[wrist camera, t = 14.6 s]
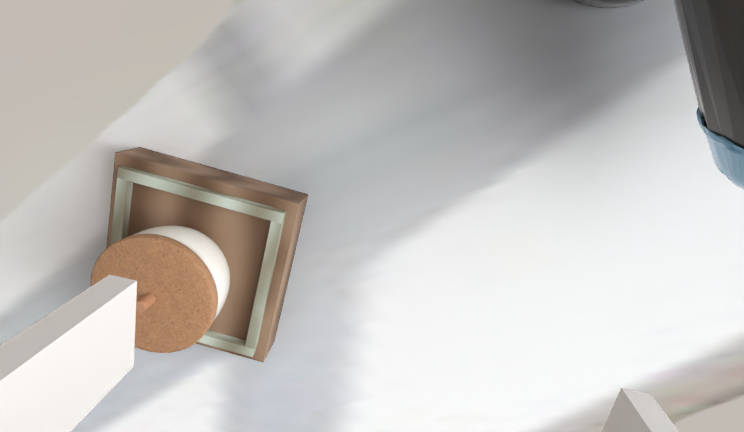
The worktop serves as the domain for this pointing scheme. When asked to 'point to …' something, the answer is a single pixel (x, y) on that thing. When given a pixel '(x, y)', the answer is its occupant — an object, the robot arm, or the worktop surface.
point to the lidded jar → (169, 284)
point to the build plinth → (217, 235)
